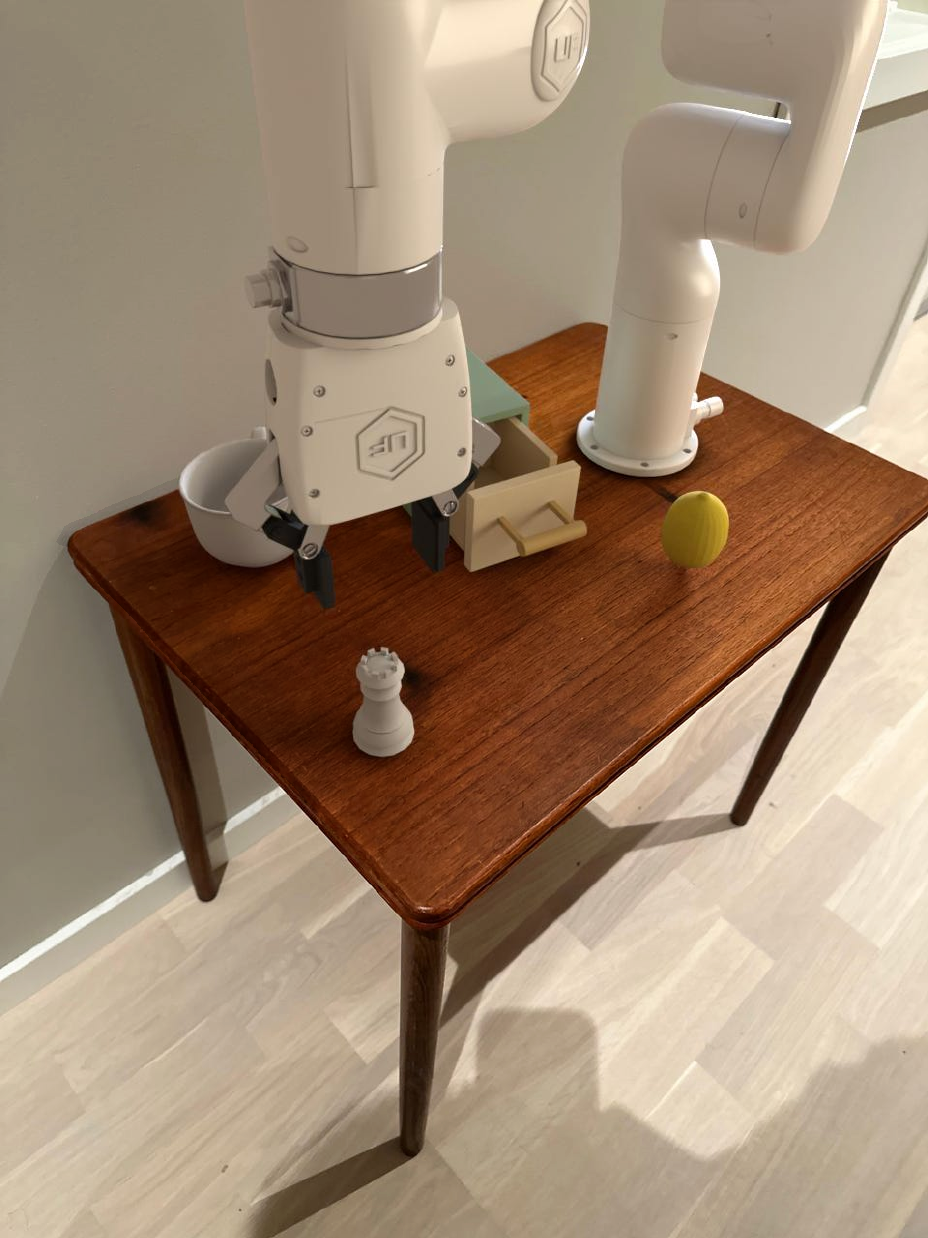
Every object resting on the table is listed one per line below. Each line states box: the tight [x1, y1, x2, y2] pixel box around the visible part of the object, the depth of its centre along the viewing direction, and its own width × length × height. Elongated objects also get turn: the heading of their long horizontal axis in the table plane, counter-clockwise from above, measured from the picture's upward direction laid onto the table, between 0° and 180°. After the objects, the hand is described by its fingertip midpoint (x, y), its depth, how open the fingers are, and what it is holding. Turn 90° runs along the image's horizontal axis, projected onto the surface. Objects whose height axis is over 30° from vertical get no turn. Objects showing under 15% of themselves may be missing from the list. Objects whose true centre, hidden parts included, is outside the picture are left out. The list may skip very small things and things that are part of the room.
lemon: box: [660, 490, 730, 569], centre depth 75 cm, size 6×6×8 cm
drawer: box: [449, 416, 588, 573], centre depth 76 cm, size 17×10×8 cm, turn 29°
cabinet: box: [401, 345, 531, 518], centre depth 84 cm, size 14×12×10 cm
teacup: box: [177, 426, 294, 568], centre depth 76 cm, size 14×11×8 cm
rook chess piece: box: [352, 646, 415, 758], centre depth 60 cm, size 4×4×8 cm
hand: (375, 574), depth 52 cm, fingers open, 6 cm apart
